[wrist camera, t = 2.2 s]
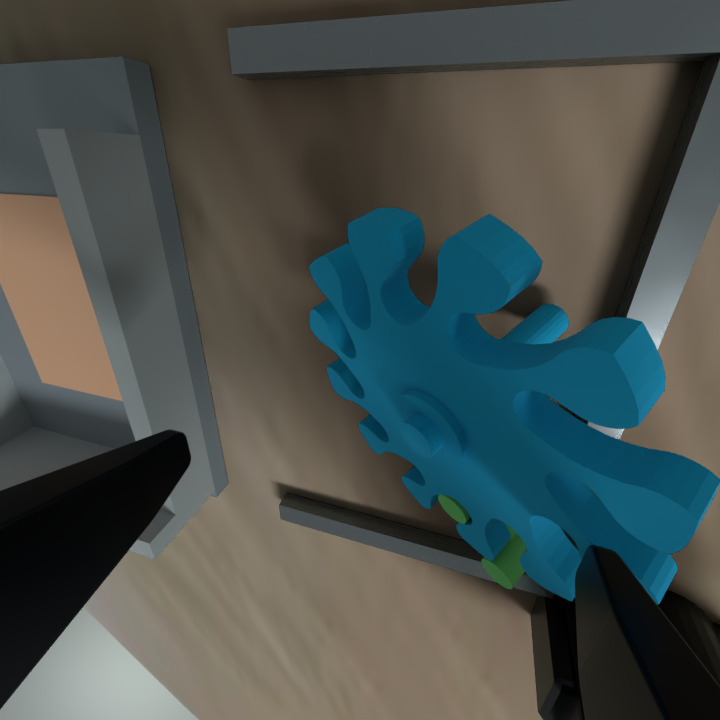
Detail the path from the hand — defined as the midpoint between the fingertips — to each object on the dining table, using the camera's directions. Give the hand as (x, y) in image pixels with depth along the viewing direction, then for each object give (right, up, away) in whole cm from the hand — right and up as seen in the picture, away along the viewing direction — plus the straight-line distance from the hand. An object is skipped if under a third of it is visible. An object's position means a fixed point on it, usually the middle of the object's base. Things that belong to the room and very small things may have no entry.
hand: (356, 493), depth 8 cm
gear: (+1, +3, +6) cm, 7 cm away
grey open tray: (-13, +5, +9) cm, 17 cm away
